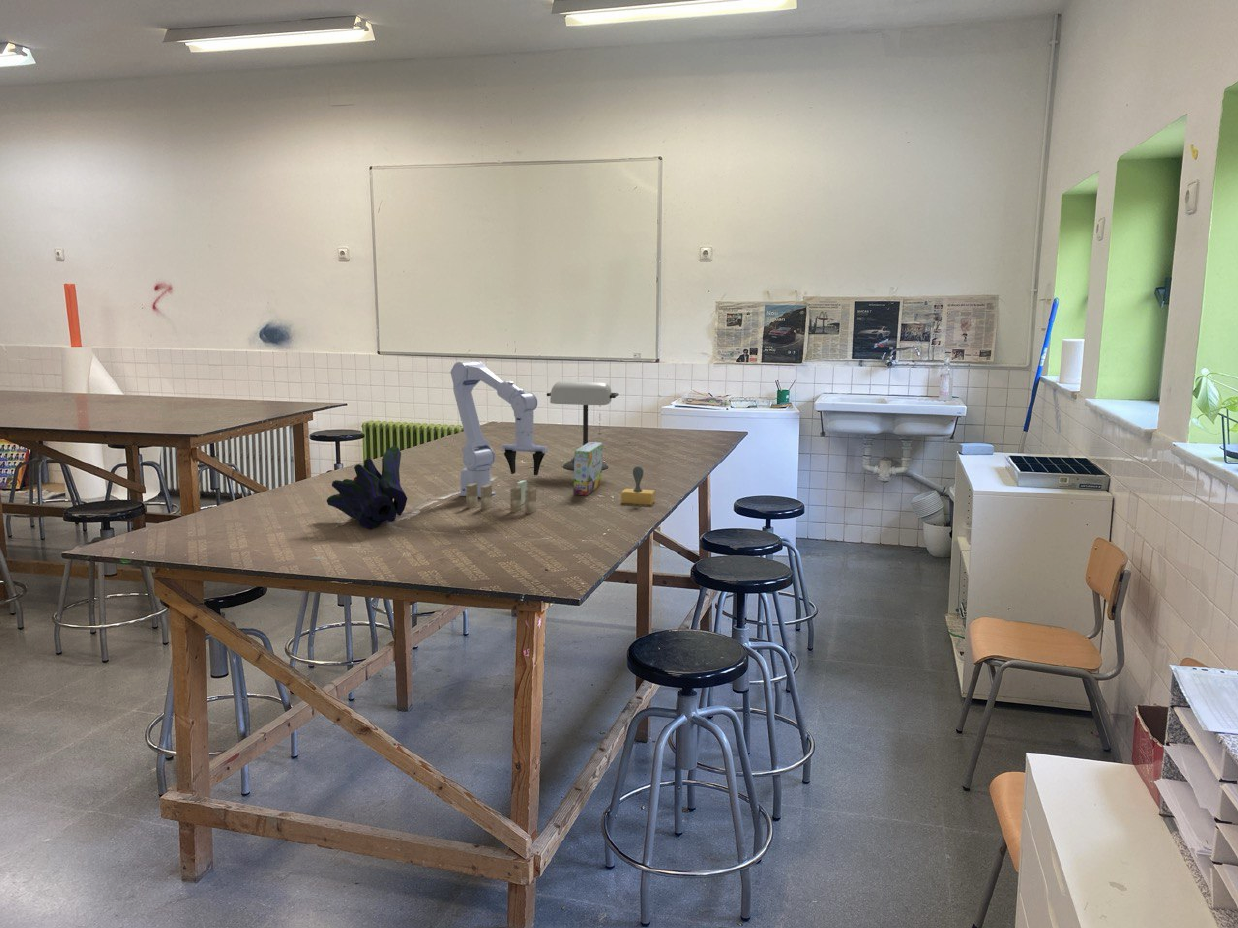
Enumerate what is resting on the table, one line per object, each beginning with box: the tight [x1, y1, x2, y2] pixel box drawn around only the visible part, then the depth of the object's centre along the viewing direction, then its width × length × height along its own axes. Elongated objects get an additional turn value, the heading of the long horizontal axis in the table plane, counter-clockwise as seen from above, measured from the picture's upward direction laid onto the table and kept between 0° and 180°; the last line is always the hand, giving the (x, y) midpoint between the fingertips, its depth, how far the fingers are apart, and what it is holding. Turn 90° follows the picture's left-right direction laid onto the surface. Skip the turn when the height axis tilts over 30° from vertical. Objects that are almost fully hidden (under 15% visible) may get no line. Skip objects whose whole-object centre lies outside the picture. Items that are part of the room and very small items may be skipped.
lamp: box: [546, 381, 620, 471], centre depth 343 cm, size 26×24×34 cm
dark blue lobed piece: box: [325, 445, 408, 530], centre depth 261 cm, size 21×26×30 cm
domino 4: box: [516, 479, 528, 506], centre depth 285 cm, size 2×4×7 cm, turn 162°
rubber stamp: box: [620, 465, 656, 506], centre depth 288 cm, size 10×6×12 cm, turn 78°
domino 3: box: [509, 486, 522, 513], centre depth 274 cm, size 2×4×7 cm, turn 162°
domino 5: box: [524, 487, 537, 515], centre depth 273 cm, size 2×4×7 cm, turn 162°
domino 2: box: [480, 484, 493, 511], centre depth 277 cm, size 2×4×7 cm, turn 162°
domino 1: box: [465, 483, 479, 509], centre depth 279 cm, size 2×4×7 cm, turn 162°
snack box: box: [573, 441, 604, 496], centre depth 306 cm, size 21×6×15 cm, turn 169°
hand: (524, 474), depth 284 cm, fingers open, 7 cm apart
